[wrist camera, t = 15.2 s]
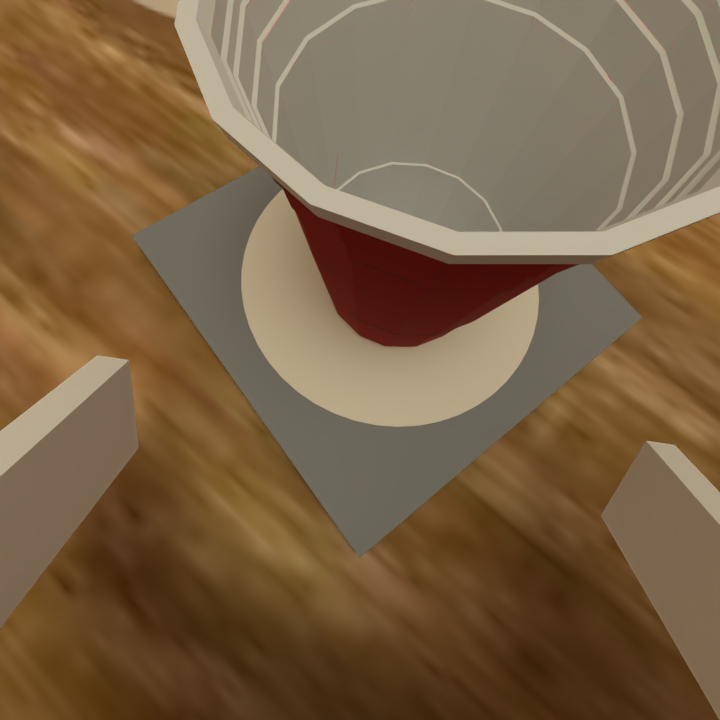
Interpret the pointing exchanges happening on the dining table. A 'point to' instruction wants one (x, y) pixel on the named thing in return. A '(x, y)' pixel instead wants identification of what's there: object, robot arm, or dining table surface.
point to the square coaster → (367, 357)
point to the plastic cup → (465, 138)
